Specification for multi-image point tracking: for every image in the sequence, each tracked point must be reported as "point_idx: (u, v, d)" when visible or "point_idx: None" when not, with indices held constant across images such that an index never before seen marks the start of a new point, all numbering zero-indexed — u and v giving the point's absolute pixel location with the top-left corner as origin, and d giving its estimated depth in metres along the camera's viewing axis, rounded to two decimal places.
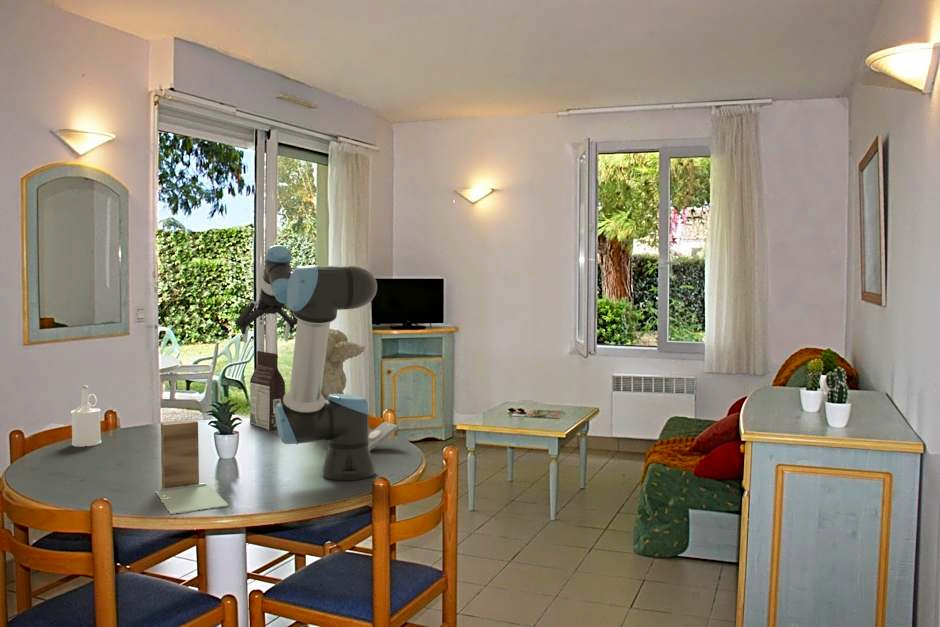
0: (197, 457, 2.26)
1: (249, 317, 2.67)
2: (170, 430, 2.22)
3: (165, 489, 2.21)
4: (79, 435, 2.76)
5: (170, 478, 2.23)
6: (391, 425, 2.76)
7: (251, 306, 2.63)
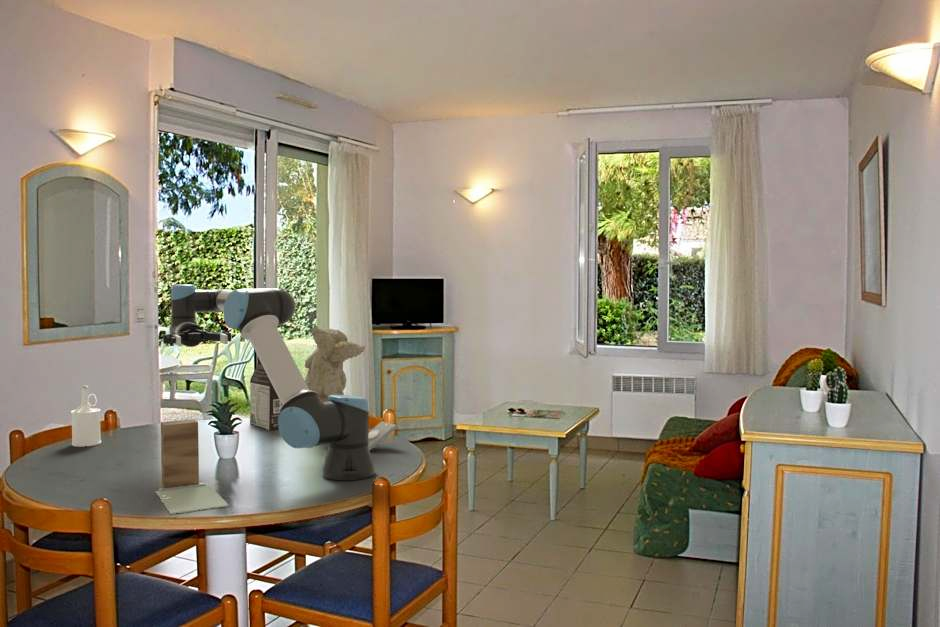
0: (197, 457, 2.26)
1: None
2: (170, 430, 2.22)
3: (165, 489, 2.21)
4: (79, 435, 2.76)
5: (170, 478, 2.23)
6: (389, 425, 2.77)
7: (171, 332, 2.56)
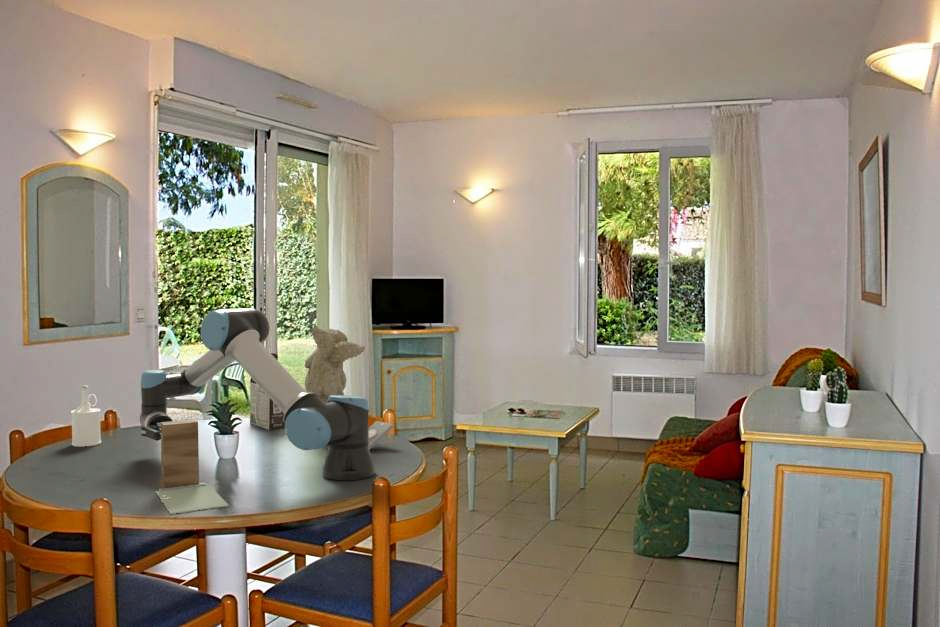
0: (197, 457, 2.26)
1: None
2: (170, 430, 2.22)
3: (165, 489, 2.21)
4: (79, 435, 2.76)
5: (170, 478, 2.23)
6: (385, 424, 2.78)
7: (143, 427, 2.44)
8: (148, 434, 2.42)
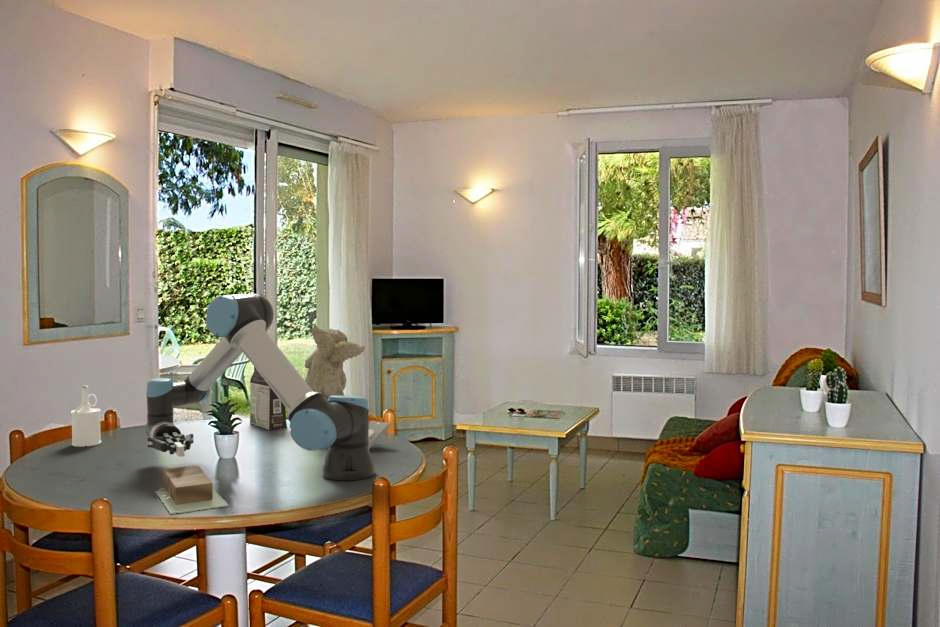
0: None
1: None
2: None
3: (165, 489, 2.21)
4: (79, 435, 2.76)
5: None
6: (381, 423, 2.79)
7: (150, 438, 2.34)
8: (155, 445, 2.32)
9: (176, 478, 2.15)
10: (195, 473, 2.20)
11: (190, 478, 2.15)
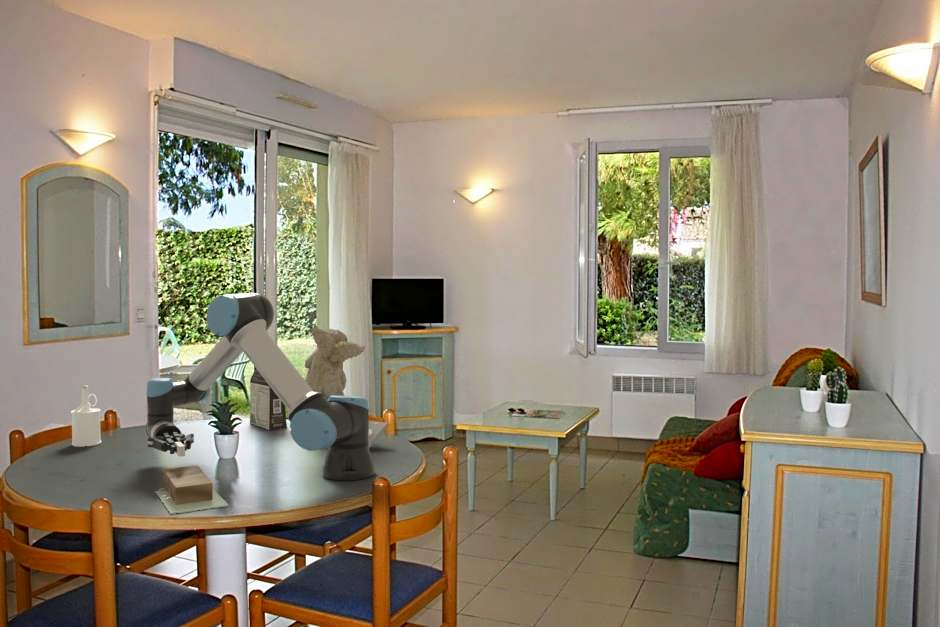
0: None
1: None
2: None
3: (165, 489, 2.21)
4: (79, 435, 2.76)
5: None
6: (379, 423, 2.79)
7: (150, 438, 2.34)
8: (155, 445, 2.32)
9: (176, 478, 2.15)
10: (195, 473, 2.20)
11: (190, 478, 2.15)
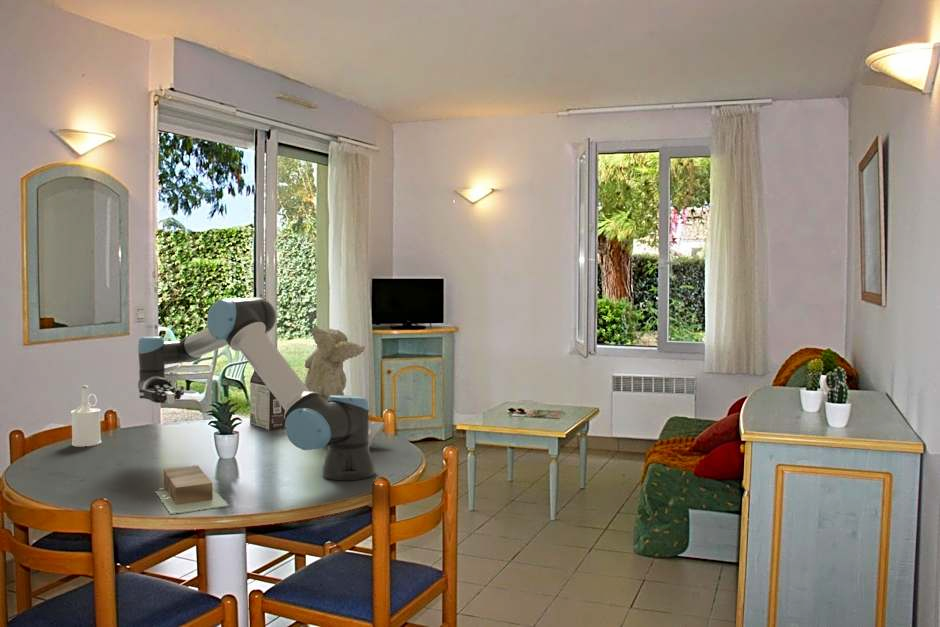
0: None
1: None
2: None
3: (165, 489, 2.21)
4: (79, 435, 2.76)
5: None
6: (377, 423, 2.80)
7: (141, 389, 2.44)
8: (146, 396, 2.41)
9: (176, 478, 2.15)
10: (195, 473, 2.20)
11: (190, 478, 2.15)
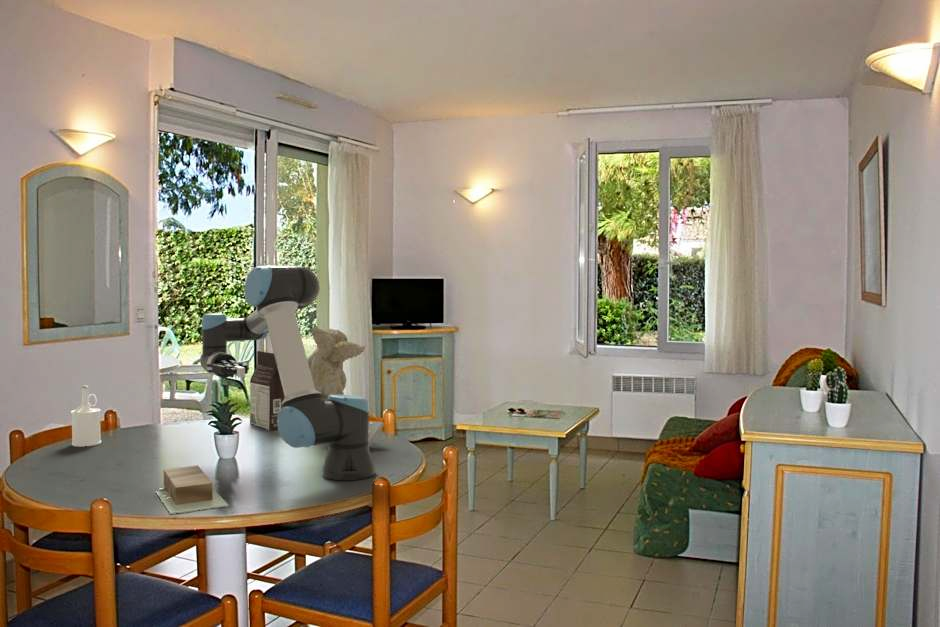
0: None
1: None
2: None
3: (165, 489, 2.21)
4: (79, 435, 2.76)
5: None
6: (375, 423, 2.80)
7: (209, 364, 2.50)
8: (215, 370, 2.47)
9: (176, 478, 2.15)
10: (195, 473, 2.20)
11: (190, 478, 2.15)
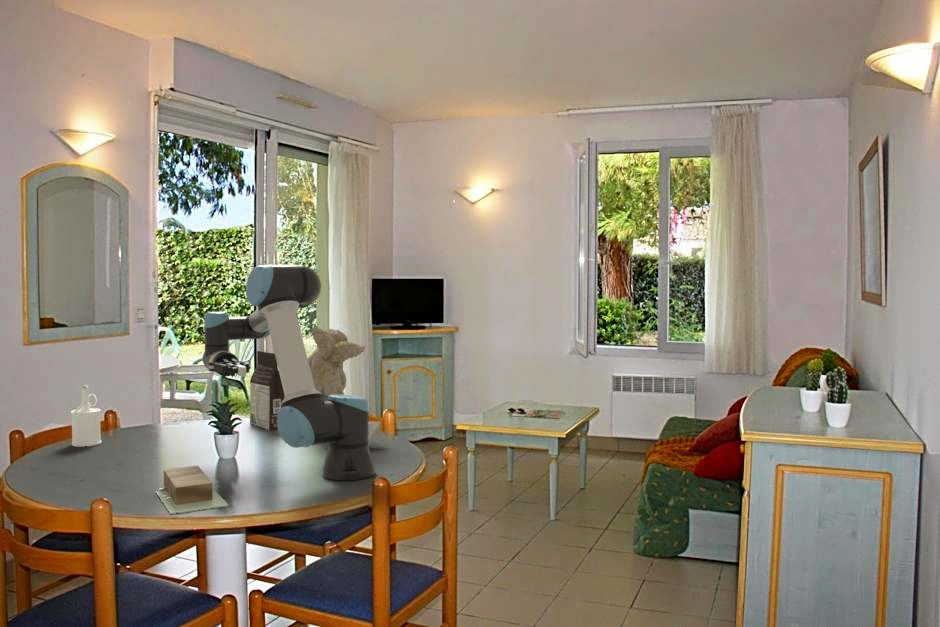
0: None
1: None
2: None
3: (165, 489, 2.21)
4: (79, 435, 2.76)
5: None
6: (372, 423, 2.80)
7: (211, 363, 2.50)
8: (216, 369, 2.48)
9: (176, 478, 2.15)
10: (195, 473, 2.20)
11: (190, 478, 2.15)
